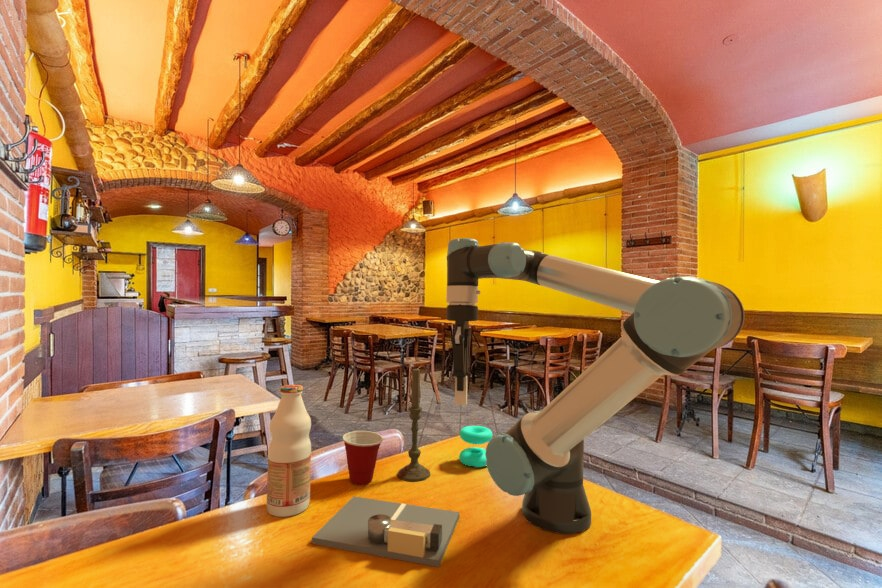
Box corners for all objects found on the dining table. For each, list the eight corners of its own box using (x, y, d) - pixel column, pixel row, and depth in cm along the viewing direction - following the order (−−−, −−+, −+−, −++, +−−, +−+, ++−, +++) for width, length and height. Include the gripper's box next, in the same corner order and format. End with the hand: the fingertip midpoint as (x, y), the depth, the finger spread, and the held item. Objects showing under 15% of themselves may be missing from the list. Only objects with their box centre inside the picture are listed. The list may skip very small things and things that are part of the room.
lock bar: (364, 541, 79) (364, 524, 79) (372, 529, 83) (373, 513, 83) (437, 552, 76) (438, 534, 76) (442, 538, 80) (442, 522, 80)
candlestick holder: (394, 469, 117) (397, 365, 118) (425, 466, 120) (427, 364, 121) (401, 483, 108) (403, 370, 109) (434, 479, 111) (436, 369, 112)
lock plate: (459, 517, 91) (459, 495, 92) (438, 567, 74) (439, 539, 74) (353, 501, 98) (354, 480, 98) (311, 543, 81) (312, 517, 81)
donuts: (484, 423, 131) (498, 432, 121) (483, 454, 130) (497, 466, 121) (454, 425, 127) (467, 435, 118) (454, 458, 127) (466, 470, 118)
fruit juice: (261, 519, 89) (265, 390, 90) (271, 499, 98) (274, 382, 99) (306, 516, 91) (310, 390, 92) (312, 496, 100) (315, 382, 101)
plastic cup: (373, 492, 103) (374, 444, 103) (334, 487, 105) (335, 440, 106) (387, 474, 114) (388, 431, 114) (351, 470, 116) (352, 428, 116)
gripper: (473, 304, 90) (472, 411, 90) (481, 304, 103) (480, 398, 102) (440, 303, 92) (439, 409, 91) (452, 304, 105) (451, 396, 104)
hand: (461, 403), depth 97 cm, fingers closed
